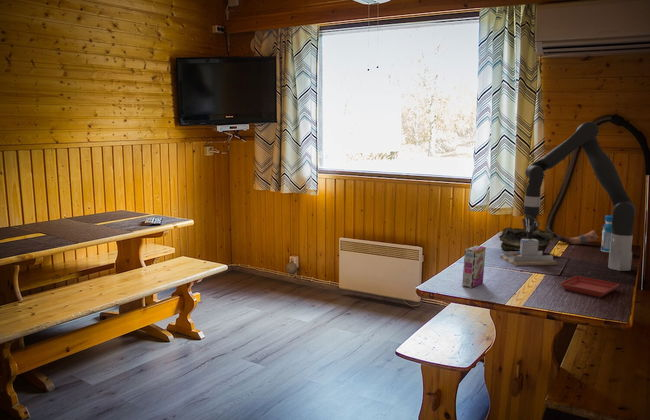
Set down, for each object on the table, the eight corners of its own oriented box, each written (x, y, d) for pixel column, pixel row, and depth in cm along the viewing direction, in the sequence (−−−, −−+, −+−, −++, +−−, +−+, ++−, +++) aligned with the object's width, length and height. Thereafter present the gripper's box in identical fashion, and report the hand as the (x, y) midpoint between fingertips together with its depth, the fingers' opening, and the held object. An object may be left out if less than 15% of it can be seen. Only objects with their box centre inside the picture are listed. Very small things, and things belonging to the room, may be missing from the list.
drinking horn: (598, 246, 323) (600, 229, 321) (545, 243, 328) (547, 226, 327) (596, 244, 328) (598, 227, 326) (544, 241, 334) (545, 225, 332)
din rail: (552, 260, 281) (553, 255, 280) (513, 261, 277) (514, 256, 277) (541, 255, 291) (541, 250, 291) (503, 256, 288) (504, 251, 287)
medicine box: (535, 255, 286) (536, 239, 284) (537, 257, 281) (538, 240, 280) (519, 255, 286) (520, 238, 285) (521, 257, 282) (522, 240, 281)
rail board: (556, 264, 278) (556, 261, 278) (515, 265, 275) (515, 262, 275) (539, 257, 294) (539, 254, 294) (500, 257, 290) (500, 255, 290)
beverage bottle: (608, 253, 305) (611, 217, 302) (596, 249, 313) (600, 214, 310) (620, 252, 307) (624, 217, 304) (609, 249, 315) (612, 214, 312)
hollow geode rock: (551, 262, 302) (554, 239, 309) (552, 250, 292) (555, 226, 299) (497, 255, 313) (502, 233, 321) (497, 243, 303) (501, 220, 311)
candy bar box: (472, 288, 235) (475, 251, 233) (461, 286, 238) (464, 249, 236) (483, 283, 244) (486, 246, 241) (473, 281, 247) (475, 244, 244)
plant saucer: (558, 290, 237) (559, 282, 236) (576, 282, 249) (576, 274, 249) (603, 300, 224) (604, 292, 224) (619, 291, 237) (619, 283, 236)
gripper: (546, 207, 274) (543, 241, 277) (532, 203, 287) (529, 236, 290) (531, 207, 273) (529, 241, 275) (518, 203, 286) (516, 236, 288)
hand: (529, 238), depth 283 cm, fingers closed
